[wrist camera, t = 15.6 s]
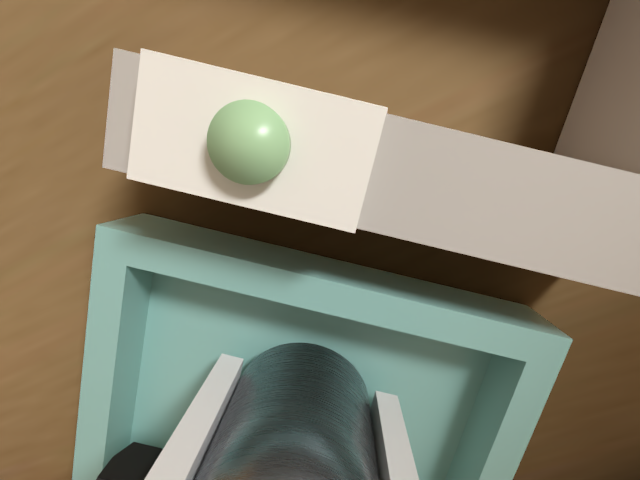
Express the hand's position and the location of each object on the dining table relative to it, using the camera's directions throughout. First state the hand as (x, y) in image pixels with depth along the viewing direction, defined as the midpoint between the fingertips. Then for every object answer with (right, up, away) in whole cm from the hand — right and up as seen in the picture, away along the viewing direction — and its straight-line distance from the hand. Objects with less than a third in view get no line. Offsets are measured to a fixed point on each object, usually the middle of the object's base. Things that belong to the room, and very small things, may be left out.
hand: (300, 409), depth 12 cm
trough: (0, 0, +2) cm, 2 cm away
